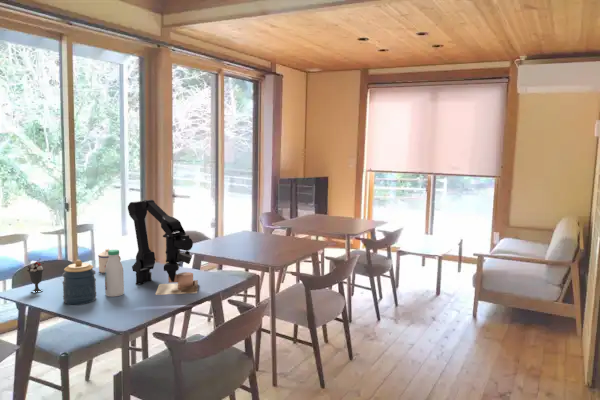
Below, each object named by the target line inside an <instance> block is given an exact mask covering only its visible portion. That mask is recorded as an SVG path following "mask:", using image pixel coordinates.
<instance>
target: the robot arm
mask: <svg viewBox="0 0 600 400" xmlns="http://www.w3.org/2000/svg"><path fill="white" fill-rule="evenodd" d="M127 211H128V214H129V217H130V218H131V219H132V220H133V225H134V231H135V236H136V242H137V243H136V244H137V253H136V256H135V262H134V264H133V265H132V266H131V270H132V272H135V276H136V277H135V281H136V282H135V285H143V284H144V283H147V282H152V280H153V279H152V278H153V276H152V275H153V274H152V272H151V270H154V267H155V264H156V256H155V255H156V254H155V252H154V251H152V250H151V249H150V245H149V240H148V231H147V225H146V217H147V214H148V213H149V214H150V215H151V216H152V217H153V218H155V219H156V220H157V222H159V223H160V227H161V229H162V230H163V232H164V234H163V235H162V238H165V254H166V255H165V257H166V258H165V264H164V266H163V271H164V272H166V273H167V275H169V277H170V279H171V281H172V282H174V280H175V274H177V271H179V269H180V266H181V262H183V263H186V264H187V265H190V263H191V260H192V258H193V256H192V254H191V253H190V250H192V248H193V245H194V242H193V240H192V239H191V238H190V235H189V234H187V233H186V231H185V229H184V227H183V225H182V223H181V221H180V220H179V219H178V218H176V217H173V216H171V215H168V213H167V212H166V211H164V209H162V208H161V207H160V206H159V205H158V204H157V203H156V202H155V200H154V199H144V200H140V201H139V200H138V201H131V202H129V204H128V205H127ZM181 250H182V251H181Z"/></svg>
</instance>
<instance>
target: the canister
mask: <svg viewBox="0 0 600 400" xmlns="http://www.w3.org/2000/svg"><path fill="white" fill-rule="evenodd" d="M93 268H94V265H92V264H90V263H87V262H83V261H82V260H81V259H76V261H74V263H70V264H68V265H67V266H66V267H65V268H63V270H64V272H63V273H62V277H63V281H62V287H63V289H62V290H63V292H62V293H63V295H62V297H63V298H62V299H63V302H64V303H65V304H67V305H73V304H74V305H75V306H76V305H84V304H85V305H86V304H88V303H93V302H94V301H95V300H96V299H97V288H96V286H97V285H96V284H97V283H96V282H97V279H96V278H95V274H96V273H97V272H96V270H95V269H93Z"/></svg>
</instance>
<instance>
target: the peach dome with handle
mask: <svg viewBox="0 0 600 400" xmlns="http://www.w3.org/2000/svg"><path fill="white" fill-rule="evenodd" d="M167 275H168V274H167ZM167 279H168V284H177V283H178V289H179V290H181V287H190V286H193V280H194V273H192V272H189V271H184V272H179V273H176V274H175V280H174V282H172V281H171V279H170V277H169V275H168V278H167Z"/></svg>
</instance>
